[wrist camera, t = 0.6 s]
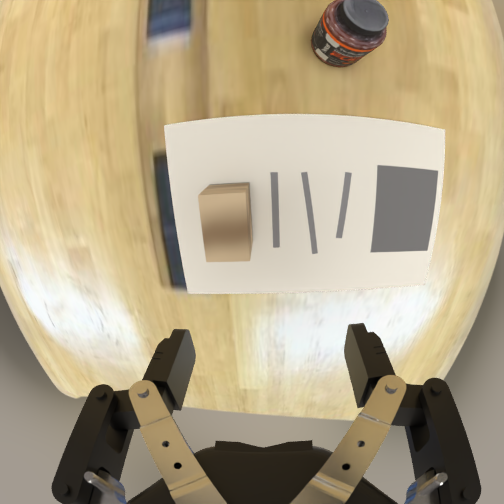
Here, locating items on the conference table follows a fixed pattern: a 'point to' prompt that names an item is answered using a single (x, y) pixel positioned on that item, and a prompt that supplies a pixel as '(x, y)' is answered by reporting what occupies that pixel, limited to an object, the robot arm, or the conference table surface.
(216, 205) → the block
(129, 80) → the conference table surface
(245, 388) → the conference table surface
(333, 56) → the supplement bottle
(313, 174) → the board
